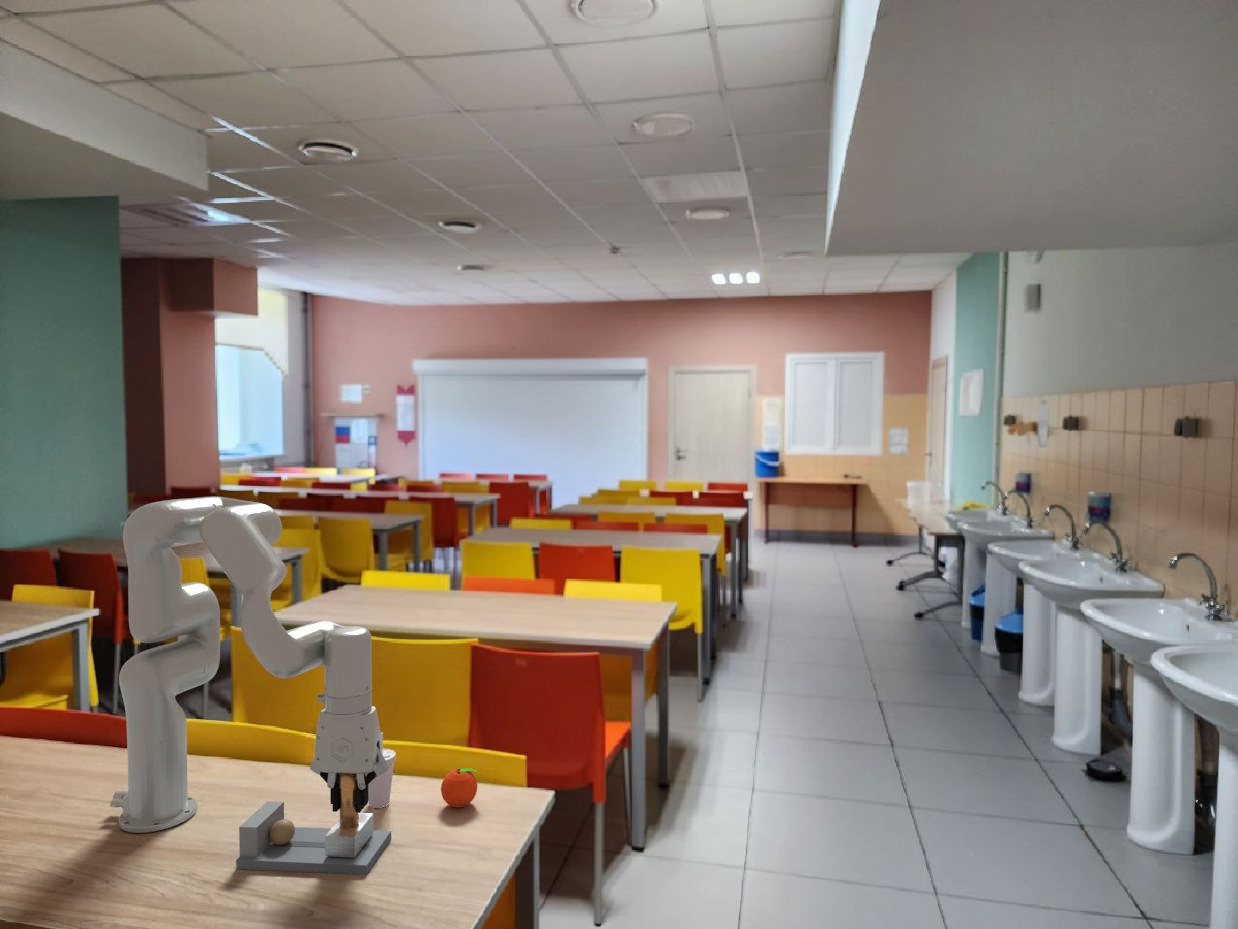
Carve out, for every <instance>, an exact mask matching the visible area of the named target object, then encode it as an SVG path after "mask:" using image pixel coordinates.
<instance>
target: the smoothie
mask: <svg viewBox="0 0 1238 929" xmlns="http://www.w3.org/2000/svg"><path fill="white" fill-rule="evenodd" d="M383 734H384V732H380V735H381V753H382V755H383V757H384V759H385V760H386V762H387V764H388V766H389V769H388V770H387V771H386V772H385V773H383V774H382V775H380V776H378V777H376V778H374V779H373V780H372V781H371V782H370V783H369V784H368V792H369V800H368V807H369V808H371V809H373V808H380V809H382V808H381V807H383V806H386V805H387V804H388V803H389V804H390V799H391V791H392V790H391V789H392V783H393V774H394V768H395V767H394V764H395V761H396V759H397V756H396V755H397V753H396V751H395V750H393V749H390V748H384V735H383ZM375 768H377V766H376V764H375V767H374V768H373V769H375ZM373 769H372V770H373ZM372 770H371V771H372ZM371 771H370V772H371ZM386 807H387V806H386Z"/></svg>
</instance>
